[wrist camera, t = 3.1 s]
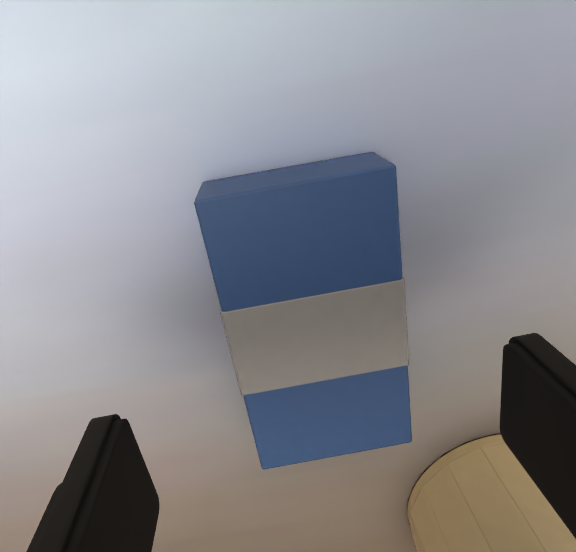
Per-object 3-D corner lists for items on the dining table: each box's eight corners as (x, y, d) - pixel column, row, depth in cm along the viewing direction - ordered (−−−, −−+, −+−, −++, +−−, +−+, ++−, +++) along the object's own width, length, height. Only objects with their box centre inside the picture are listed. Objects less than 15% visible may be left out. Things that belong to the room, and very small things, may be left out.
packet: (200, 182, 14) (191, 201, 12) (375, 150, 14) (398, 164, 12) (259, 423, 18) (260, 471, 16) (394, 398, 18) (414, 443, 16)
